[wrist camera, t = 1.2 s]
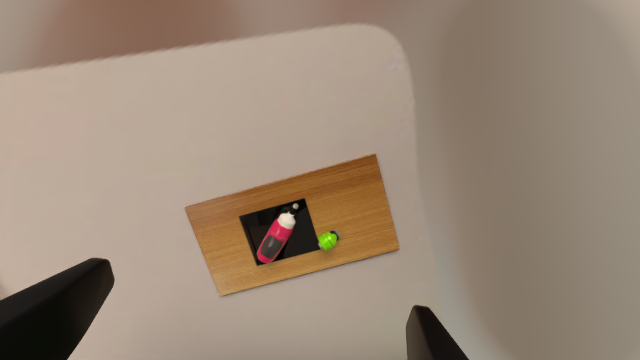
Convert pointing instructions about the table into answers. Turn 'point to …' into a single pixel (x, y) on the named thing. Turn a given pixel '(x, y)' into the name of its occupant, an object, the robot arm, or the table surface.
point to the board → (295, 225)
